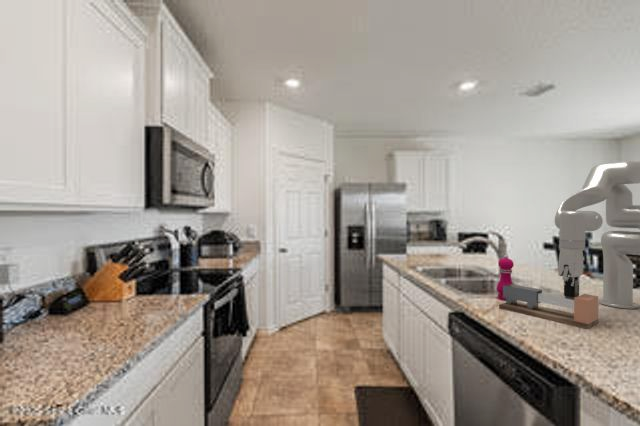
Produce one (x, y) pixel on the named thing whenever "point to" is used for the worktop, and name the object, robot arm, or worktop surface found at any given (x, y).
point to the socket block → (585, 308)
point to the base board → (547, 314)
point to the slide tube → (558, 298)
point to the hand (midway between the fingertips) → (571, 295)
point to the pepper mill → (504, 275)
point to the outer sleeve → (521, 295)
